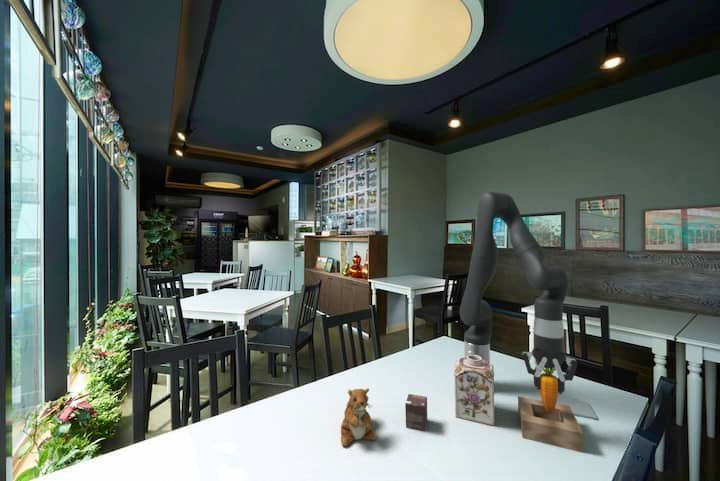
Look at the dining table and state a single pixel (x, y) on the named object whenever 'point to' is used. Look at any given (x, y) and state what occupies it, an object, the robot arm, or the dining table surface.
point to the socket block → (549, 424)
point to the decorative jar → (474, 389)
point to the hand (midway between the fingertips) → (548, 390)
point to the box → (416, 412)
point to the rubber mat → (578, 407)
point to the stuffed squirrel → (356, 418)
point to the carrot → (549, 389)
